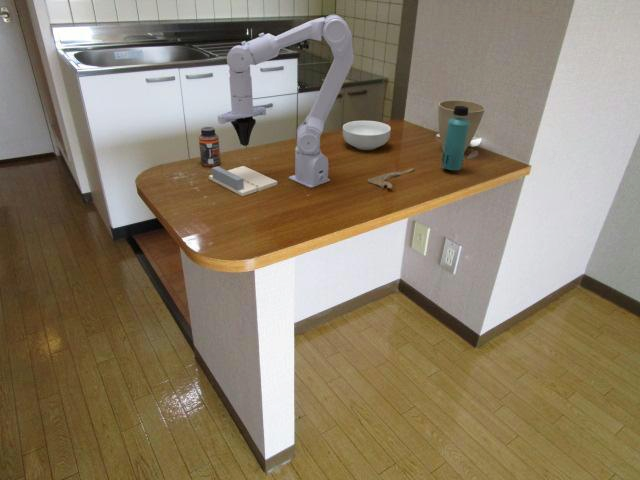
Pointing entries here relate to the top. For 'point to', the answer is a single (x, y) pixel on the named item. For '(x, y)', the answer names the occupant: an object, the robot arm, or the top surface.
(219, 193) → the top surface
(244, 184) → the stub
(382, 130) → the cereal bowl
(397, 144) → the top surface
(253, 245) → the top surface
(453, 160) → the beverage bottle
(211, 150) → the supplement bottle
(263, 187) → the ticket
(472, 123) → the plant pot
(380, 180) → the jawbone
